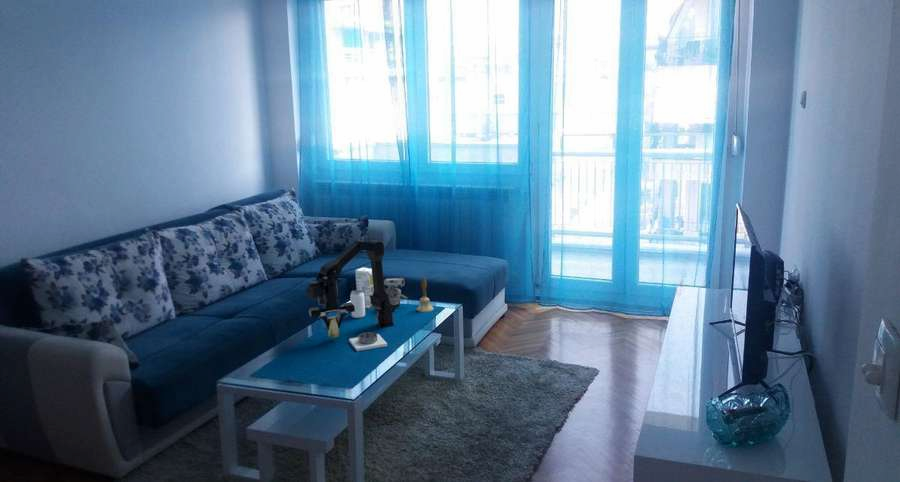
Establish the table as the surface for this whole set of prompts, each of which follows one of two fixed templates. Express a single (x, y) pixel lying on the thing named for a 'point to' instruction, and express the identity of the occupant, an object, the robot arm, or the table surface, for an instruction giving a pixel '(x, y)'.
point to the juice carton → (365, 284)
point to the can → (358, 303)
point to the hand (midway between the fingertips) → (333, 329)
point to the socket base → (367, 346)
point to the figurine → (394, 290)
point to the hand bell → (424, 299)
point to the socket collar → (367, 338)
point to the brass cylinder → (333, 326)
